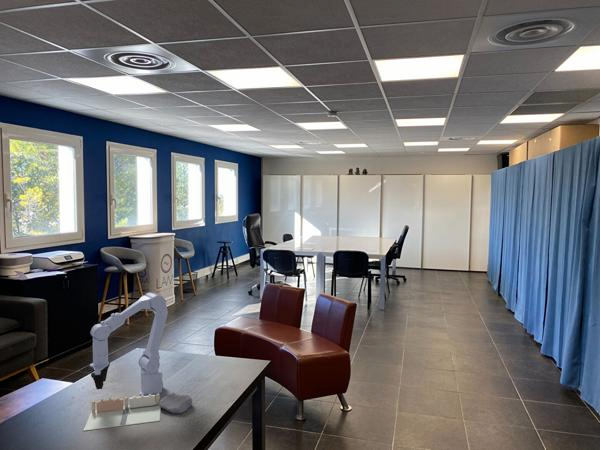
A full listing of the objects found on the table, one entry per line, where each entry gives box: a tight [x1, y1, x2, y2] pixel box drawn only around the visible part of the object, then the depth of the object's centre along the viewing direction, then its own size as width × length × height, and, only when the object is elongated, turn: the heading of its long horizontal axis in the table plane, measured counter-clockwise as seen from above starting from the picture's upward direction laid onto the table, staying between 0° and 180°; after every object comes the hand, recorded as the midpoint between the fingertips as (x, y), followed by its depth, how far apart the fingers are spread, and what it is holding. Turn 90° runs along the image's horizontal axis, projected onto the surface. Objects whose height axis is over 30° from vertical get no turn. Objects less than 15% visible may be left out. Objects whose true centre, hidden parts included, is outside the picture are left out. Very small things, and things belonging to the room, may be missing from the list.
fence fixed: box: [124, 393, 161, 409], centre depth 176 cm, size 14×1×5 cm, turn 106°
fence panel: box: [90, 397, 125, 413], centre depth 173 cm, size 12×1×5 cm, turn 106°
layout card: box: [83, 401, 162, 432], centre depth 170 cm, size 27×17×1 cm, turn 106°
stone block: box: [159, 392, 193, 414], centre depth 176 cm, size 12×5×10 cm
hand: (101, 385), depth 178 cm, fingers open, 7 cm apart
